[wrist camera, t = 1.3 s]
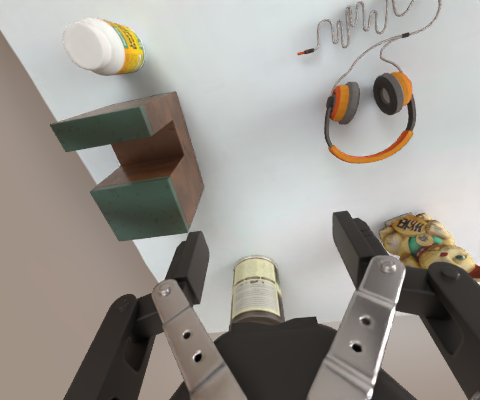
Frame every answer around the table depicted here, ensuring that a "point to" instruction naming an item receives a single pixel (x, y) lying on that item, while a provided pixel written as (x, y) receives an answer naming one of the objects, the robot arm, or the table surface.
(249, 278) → the coffee can
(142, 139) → the notched wooden block
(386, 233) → the decorative figurine
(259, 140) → the table surface
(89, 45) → the supplement bottle
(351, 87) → the headphones
